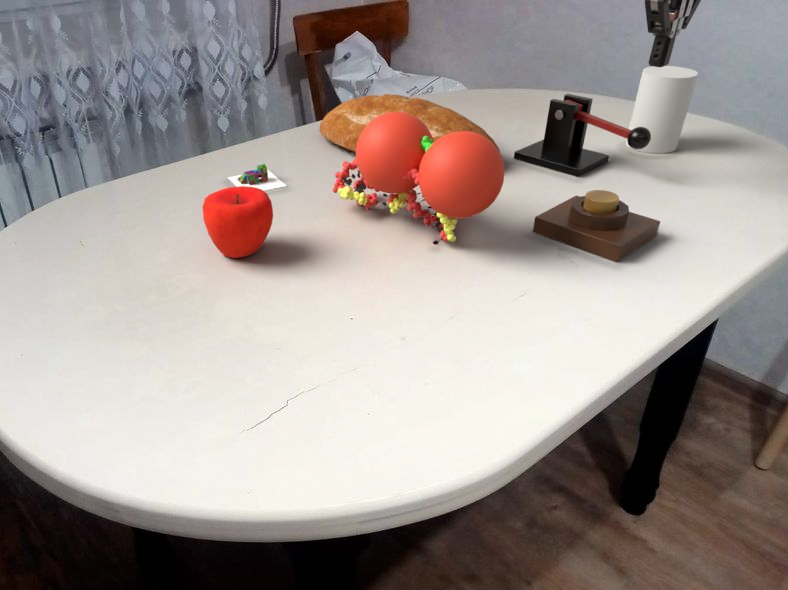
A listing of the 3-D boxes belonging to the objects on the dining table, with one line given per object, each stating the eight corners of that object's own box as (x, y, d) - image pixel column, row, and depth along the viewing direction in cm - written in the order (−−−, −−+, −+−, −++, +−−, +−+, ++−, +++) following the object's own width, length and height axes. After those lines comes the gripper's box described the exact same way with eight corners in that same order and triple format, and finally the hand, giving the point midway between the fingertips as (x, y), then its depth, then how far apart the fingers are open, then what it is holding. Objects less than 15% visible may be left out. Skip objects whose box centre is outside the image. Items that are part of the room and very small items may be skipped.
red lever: (649, 149, 99) (658, 129, 97) (639, 155, 97) (648, 134, 95) (564, 115, 107) (570, 96, 105) (553, 120, 105) (559, 100, 103)
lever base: (608, 162, 107) (622, 100, 102) (578, 177, 103) (591, 113, 97) (543, 145, 115) (553, 87, 109) (513, 158, 110) (522, 98, 104)
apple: (266, 270, 81) (261, 211, 76) (198, 265, 82) (189, 207, 78) (283, 238, 88) (279, 182, 84) (220, 234, 90) (213, 179, 85)
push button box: (656, 236, 85) (664, 207, 83) (617, 262, 80) (625, 232, 78) (573, 210, 93) (578, 182, 91) (532, 232, 88) (537, 203, 85)
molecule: (516, 228, 88) (526, 124, 77) (471, 276, 84) (475, 173, 72) (370, 174, 101) (359, 78, 89) (324, 213, 96) (307, 117, 85)
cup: (671, 138, 116) (692, 66, 109) (680, 154, 109) (703, 78, 102) (622, 136, 117) (639, 65, 110) (628, 152, 111) (647, 77, 104)
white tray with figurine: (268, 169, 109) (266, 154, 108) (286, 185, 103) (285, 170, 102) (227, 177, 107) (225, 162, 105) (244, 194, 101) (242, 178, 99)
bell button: (621, 208, 84) (625, 195, 83) (605, 218, 82) (609, 204, 81) (593, 199, 87) (596, 187, 86) (576, 208, 85) (579, 195, 84)
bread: (352, 120, 129) (352, 73, 124) (520, 155, 111) (528, 101, 106) (294, 145, 119) (292, 94, 113) (470, 188, 100) (476, 129, 95)
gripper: (704, -79, 76) (662, 79, 86) (750, -86, 83) (706, 61, 93) (641, -81, 80) (608, 69, 90) (689, -87, 87) (654, 53, 97)
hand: (658, 65), depth 92 cm, fingers closed
